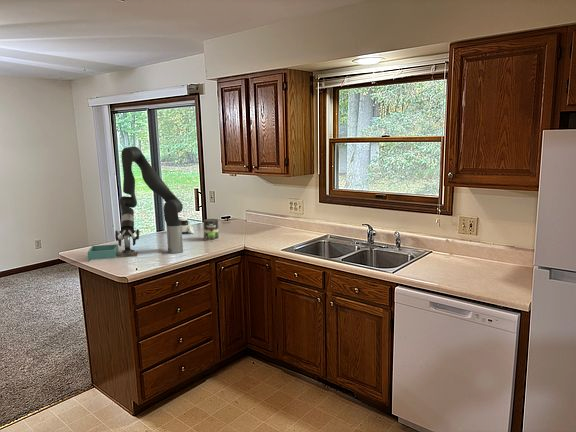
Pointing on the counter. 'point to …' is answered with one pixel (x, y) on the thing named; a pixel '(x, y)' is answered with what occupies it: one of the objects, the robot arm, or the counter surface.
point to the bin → (103, 252)
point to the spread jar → (186, 226)
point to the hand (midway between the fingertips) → (127, 245)
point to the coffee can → (211, 229)
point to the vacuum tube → (127, 244)
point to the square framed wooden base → (127, 254)
